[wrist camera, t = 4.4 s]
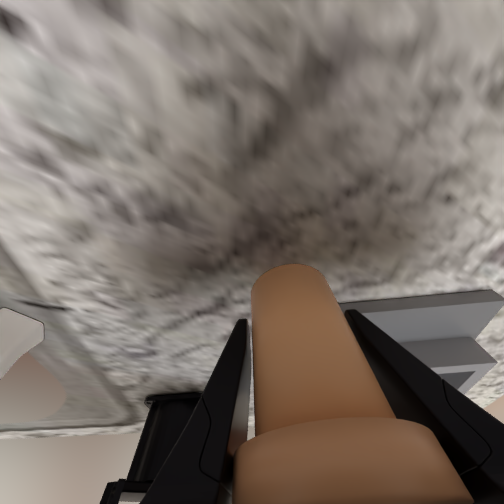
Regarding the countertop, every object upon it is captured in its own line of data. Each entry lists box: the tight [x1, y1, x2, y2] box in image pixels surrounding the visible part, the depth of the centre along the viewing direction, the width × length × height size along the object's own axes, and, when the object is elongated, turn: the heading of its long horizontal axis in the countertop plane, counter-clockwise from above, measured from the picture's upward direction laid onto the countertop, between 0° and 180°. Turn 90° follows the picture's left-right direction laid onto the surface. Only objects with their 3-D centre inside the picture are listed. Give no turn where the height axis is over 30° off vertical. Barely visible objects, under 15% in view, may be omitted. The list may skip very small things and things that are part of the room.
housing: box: [339, 290, 504, 394], centre depth 16 cm, size 16×13×4 cm
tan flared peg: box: [232, 264, 474, 504], centre depth 8 cm, size 5×5×7 cm
